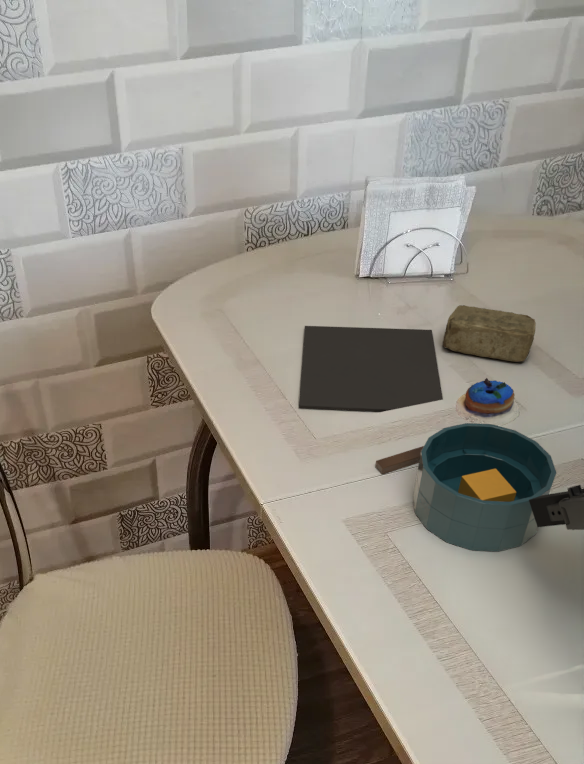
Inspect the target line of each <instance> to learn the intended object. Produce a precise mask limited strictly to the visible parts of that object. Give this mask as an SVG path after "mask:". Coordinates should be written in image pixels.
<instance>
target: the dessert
mask: <svg viewBox="0 0 584 764" xmlns="http://www.w3.org/2000/svg"><path fill="white" fill-rule="evenodd" d="M455 411H456V413H457V415H458V416H459V418H463V420H464V421H465V422H466V423H474V422H475V419H476V420H477V421H479V422H480V423H479V424H493V425H497V426H500V427H503V426H506V425H509V424H511V423H512V422H514V421H515V420H517V419H518V417H519V415H520V407H519V404H518V402H516V401H515V391H514V389H513V388H512V386H510V385H509V384H508V383H506V381H497V380H490V379H489V378H488V377H486V378H485V379H484V380H481V381H478V382H475V383H474V384H472V385H470V386H469V387H468V388H467V389H466V392H465V393H464V394H462V395H461V396H459V397H458V398H457V400H456V403H455Z"/></svg>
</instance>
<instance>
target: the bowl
mask: <svg viewBox="0 0 584 764" xmlns="http://www.w3.org/2000/svg"><path fill="white" fill-rule="evenodd" d="M424 443H425V444H424V445H423V446H424V447H423V449H422V450H421V455H420V460H419V463H418V466H417V472H416V477H415V483H414V490H413V494H412V495H413V496H412V499H413V501H412V502H413V508H414V513H415V514H414V515H416V516H417V518H418V519H419V521H420V522H421V523H422V525H423V527H425V529H426V530H427V531H429V532H431V533H432V534H433V535H435V536H436V537H438V538H439V539H441V540H442V541H443V542H445V543H448V544H450V545H452V546H453V545H454V546H457V547H460V548H462V549H466V550H469V551H478V552H494V553H495V552H502V551H506V550H509V549H510V550H511V549H514V548H519V547H521V546H522V545H524V544H525V543H527V542H528V541H529V540H531V539H532V538H533V537H534V536H536V534H537V532H538V529H539V527H537V524H536V521H535V518H534V515H533V512H532V508H531V505H530V502H529V500H530V499H533V498H536V497H539V496H542V495H548V494H551V490H552V487H553V485H554V481H555V478H556V476H557V470H556V466H555V464H554V460H553V458H552V456H551V454H550V453H549V452H548V451H547V450H546V449H545V448H544V447H543V446H541V445H540V444H539V442H538V441H536V440H534V439H532V438H531V437H529V436H527V435H525V434H523V433H521V432H519V431H518V430H516V429H512V428H508V427H504V426H500V425H498V426H497V425H493V424H481V423H474V422H465V423H460V424H456V425H450V426H446V427H444V428H442V429H440V430H438V431H436V433H434V434H432V435H431V436H429V437H428V438H427V440H426V441H425V442H424ZM491 469H497V470H498V472H499V473H500V474H501V475H502V476H503V477H504V478H505V480H506V481H507V482H508V483H509V484H510V485H511V486H512V488H513V489H514V490H515V491H516V496H515V499H514V501H510V502H505V501H484V500H480V499H477V498H474V497H470V496H467V495H464V494H460V493H458V490H459V486H460V482H461V477H462V476H464V475H469V474H473V473H478V472H482V471H487V470H491Z"/></svg>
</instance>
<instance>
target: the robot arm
mask: <svg viewBox="0 0 584 764" xmlns="http://www.w3.org/2000/svg"><path fill="white" fill-rule="evenodd" d="M529 502H530V505H531V508H532V512H533V515H534V518H535V521H536V524H537V527H538V528H543V527H553V526H563V525H565V527H566V530H569V531H584V488H582V485H581V484H577V485H574V486H570V487H567V490H566V491H561V492H554V493H550V494H548V495H542V496H539V497H536V498H533V499H530V500H529Z"/></svg>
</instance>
